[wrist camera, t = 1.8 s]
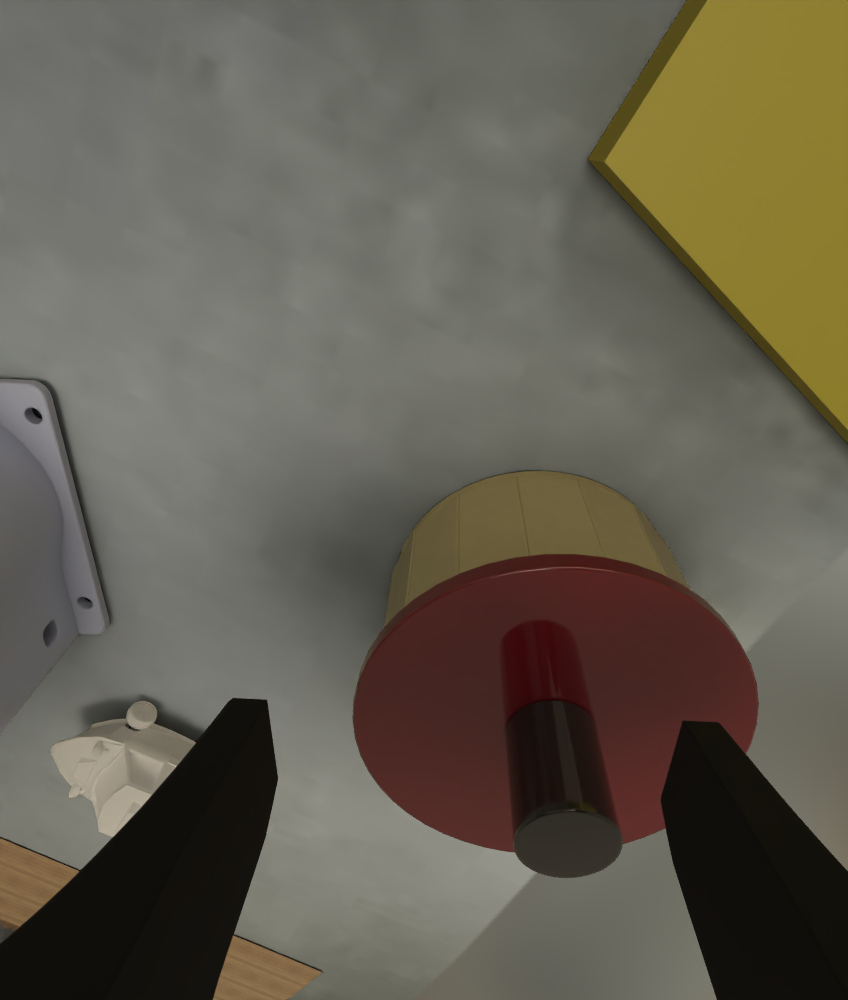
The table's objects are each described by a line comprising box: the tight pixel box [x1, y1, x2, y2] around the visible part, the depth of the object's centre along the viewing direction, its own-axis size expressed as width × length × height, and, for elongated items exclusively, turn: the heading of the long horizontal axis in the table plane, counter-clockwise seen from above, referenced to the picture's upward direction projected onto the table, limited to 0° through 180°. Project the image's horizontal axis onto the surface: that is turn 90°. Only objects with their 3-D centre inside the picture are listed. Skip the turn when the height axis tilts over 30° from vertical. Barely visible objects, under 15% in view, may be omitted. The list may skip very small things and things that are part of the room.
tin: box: [384, 471, 690, 627], centre depth 20 cm, size 9×9×6 cm
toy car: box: [50, 701, 196, 837], centre depth 26 cm, size 5×8×4 cm, turn 58°
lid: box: [353, 554, 759, 878], centre depth 16 cm, size 10×10×4 cm
